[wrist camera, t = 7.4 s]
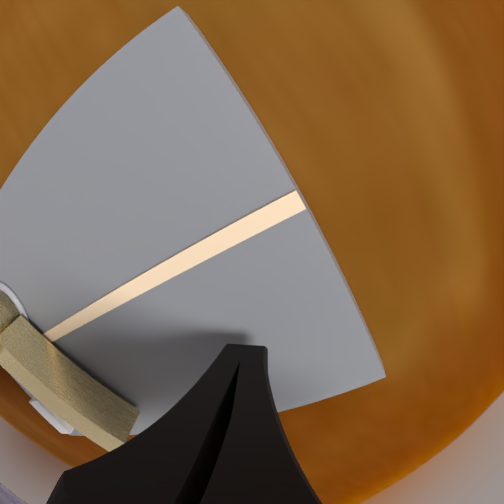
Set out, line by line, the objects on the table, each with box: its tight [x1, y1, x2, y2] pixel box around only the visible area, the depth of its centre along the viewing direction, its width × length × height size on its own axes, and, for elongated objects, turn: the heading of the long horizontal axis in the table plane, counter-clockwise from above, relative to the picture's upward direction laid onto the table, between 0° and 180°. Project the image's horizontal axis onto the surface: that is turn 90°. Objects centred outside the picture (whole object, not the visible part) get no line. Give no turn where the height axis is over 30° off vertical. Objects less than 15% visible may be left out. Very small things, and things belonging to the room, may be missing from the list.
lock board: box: [0, 6, 386, 436], centre depth 12 cm, size 15×24×3 cm, turn 121°
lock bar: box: [0, 291, 141, 452], centre depth 12 cm, size 11×3×3 cm, turn 52°
